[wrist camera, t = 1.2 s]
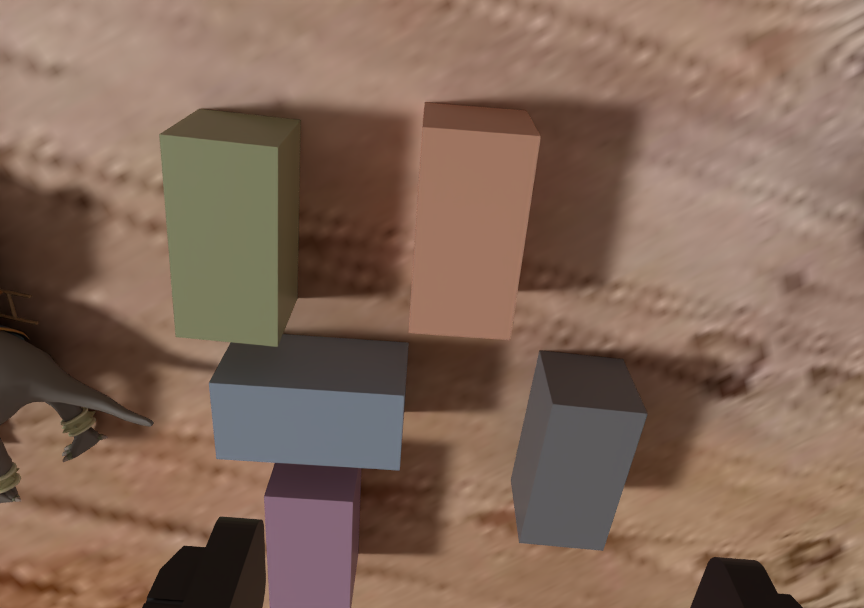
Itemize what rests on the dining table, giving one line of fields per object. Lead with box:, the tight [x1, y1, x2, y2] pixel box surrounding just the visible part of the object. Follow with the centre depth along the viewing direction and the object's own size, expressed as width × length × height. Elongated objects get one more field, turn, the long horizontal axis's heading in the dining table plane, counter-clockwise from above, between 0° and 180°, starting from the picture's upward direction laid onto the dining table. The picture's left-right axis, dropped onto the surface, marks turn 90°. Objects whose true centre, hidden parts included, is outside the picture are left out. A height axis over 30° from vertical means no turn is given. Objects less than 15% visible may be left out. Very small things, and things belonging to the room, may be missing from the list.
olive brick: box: [159, 109, 301, 347], centre depth 27 cm, size 8×4×4 cm, turn 174°
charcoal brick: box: [511, 351, 647, 551], centre depth 31 cm, size 8×4×4 cm, turn 173°
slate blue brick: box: [209, 334, 409, 470], centre depth 30 cm, size 8×4×4 cm, turn 86°
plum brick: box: [264, 463, 361, 608], centre depth 34 cm, size 8×4×4 cm, turn 176°
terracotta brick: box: [409, 102, 541, 340], centre depth 26 cm, size 8×4×4 cm, turn 176°
